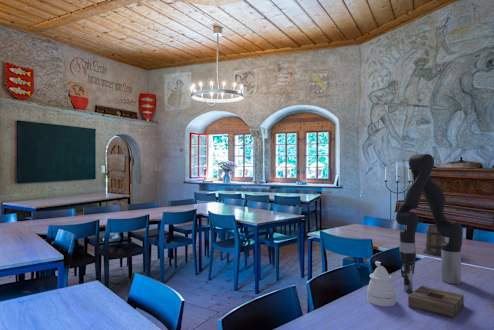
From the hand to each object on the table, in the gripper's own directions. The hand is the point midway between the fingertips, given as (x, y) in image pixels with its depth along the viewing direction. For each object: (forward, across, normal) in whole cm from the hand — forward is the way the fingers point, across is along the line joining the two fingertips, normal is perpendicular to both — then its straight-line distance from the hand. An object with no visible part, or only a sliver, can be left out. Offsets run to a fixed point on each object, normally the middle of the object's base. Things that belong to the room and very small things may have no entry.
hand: (408, 284), depth 176 cm
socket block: (+4, +11, +16) cm, 20 cm away
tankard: (+4, -94, -12) cm, 95 cm away
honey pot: (+4, +21, -5) cm, 22 cm away
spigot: (+4, 0, 0) cm, 4 cm away
